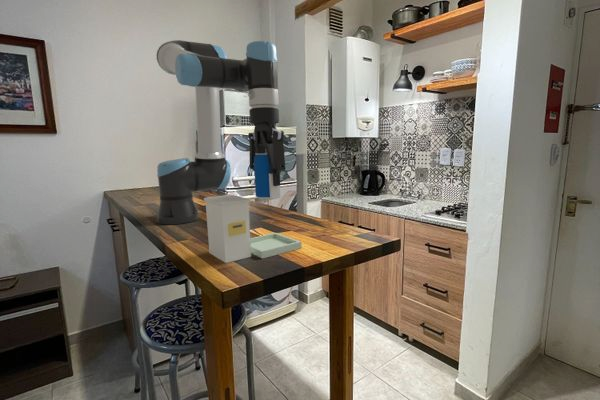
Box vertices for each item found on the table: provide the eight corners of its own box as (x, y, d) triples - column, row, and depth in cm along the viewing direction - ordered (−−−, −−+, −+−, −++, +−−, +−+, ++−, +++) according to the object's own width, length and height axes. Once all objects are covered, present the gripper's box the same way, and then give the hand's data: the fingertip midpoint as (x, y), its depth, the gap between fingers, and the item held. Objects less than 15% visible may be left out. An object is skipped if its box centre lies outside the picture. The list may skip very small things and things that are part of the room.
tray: (239, 247, 91) (238, 240, 91) (276, 238, 98) (275, 232, 98) (262, 258, 81) (261, 251, 81) (301, 248, 89) (301, 241, 88)
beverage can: (276, 200, 84) (274, 153, 82) (252, 200, 85) (250, 153, 83) (282, 196, 90) (281, 152, 88) (260, 196, 91) (258, 153, 89)
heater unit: (207, 252, 87) (203, 197, 84) (233, 246, 91) (230, 194, 89) (225, 263, 78) (221, 203, 76) (253, 256, 83) (250, 199, 80)
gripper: (233, 110, 89) (238, 194, 93) (272, 102, 74) (276, 203, 78) (257, 112, 93) (261, 191, 97) (298, 104, 78) (301, 199, 82)
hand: (267, 196), depth 88 cm, fingers closed on beverage can, 6 cm apart
